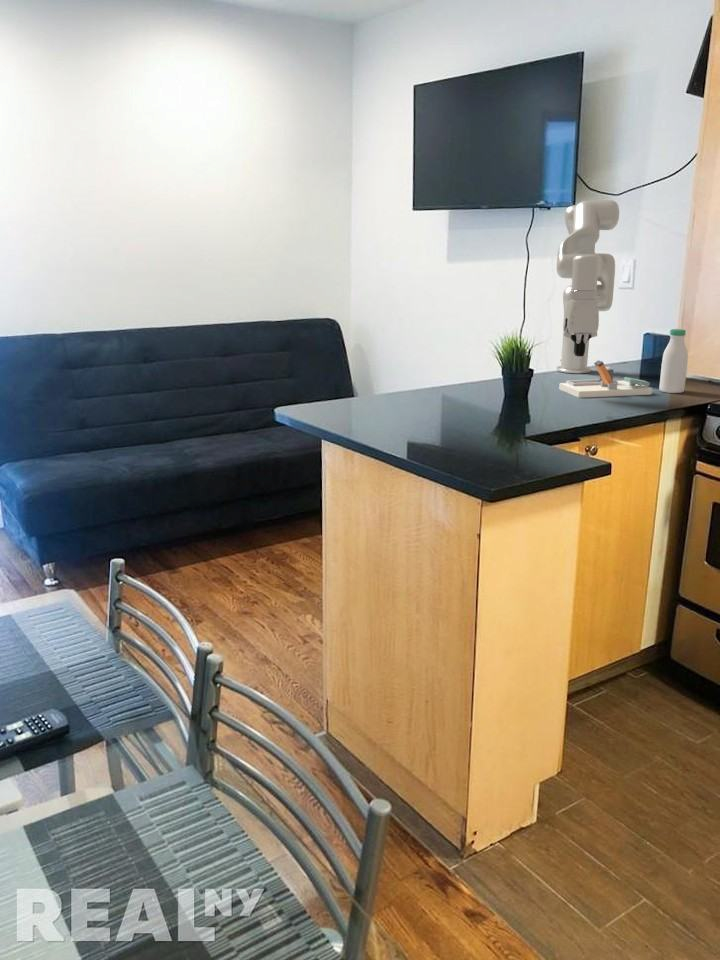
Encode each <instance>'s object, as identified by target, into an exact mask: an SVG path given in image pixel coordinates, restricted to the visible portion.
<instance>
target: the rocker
mask: <svg viewBox="0 0 720 960" xmlns="http://www.w3.org/2000/svg"><path fill="white" fill-rule="evenodd" d="M623 380H624V381H626V382H629V383H634V384H637V385H640V386H642V385H644V386H647V387H650V384H651V382H648V381H646V380H642V379H637V378H632V377H627V376H624V377H623Z"/></svg>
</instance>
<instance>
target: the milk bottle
mask: <svg viewBox="0 0 720 960" xmlns="http://www.w3.org/2000/svg"><path fill="white" fill-rule="evenodd" d="M669 337H670V339H669V342H668V344H667V346H666V348H665V349H664V351H663V353H662V359H661V360H662V361H661V369H660V378H659V387H658V388H659V392H663V393H668V394H681V393H684V391H685V390H686V389H685V387H686V378H687V371H688V370H687V369H688V362H689V361H688V357H689V355H688V350H687V346H686V344H685V338H686V329H681V328H673V329H670V331H669Z"/></svg>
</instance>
